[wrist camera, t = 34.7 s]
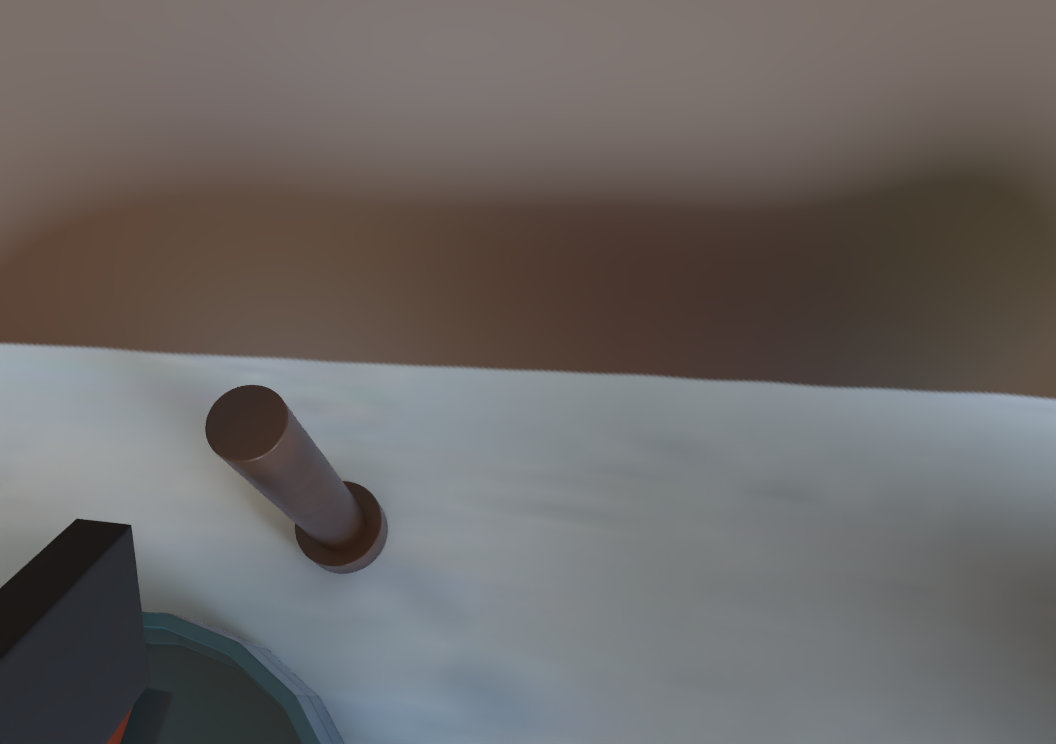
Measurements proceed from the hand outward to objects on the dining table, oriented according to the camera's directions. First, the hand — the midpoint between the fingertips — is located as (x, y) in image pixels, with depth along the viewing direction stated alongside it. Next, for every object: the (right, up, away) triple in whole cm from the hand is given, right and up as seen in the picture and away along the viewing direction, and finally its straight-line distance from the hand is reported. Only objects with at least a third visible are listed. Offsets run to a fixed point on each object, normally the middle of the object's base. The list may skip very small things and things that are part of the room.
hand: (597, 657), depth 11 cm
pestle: (-10, -4, +28) cm, 30 cm away
